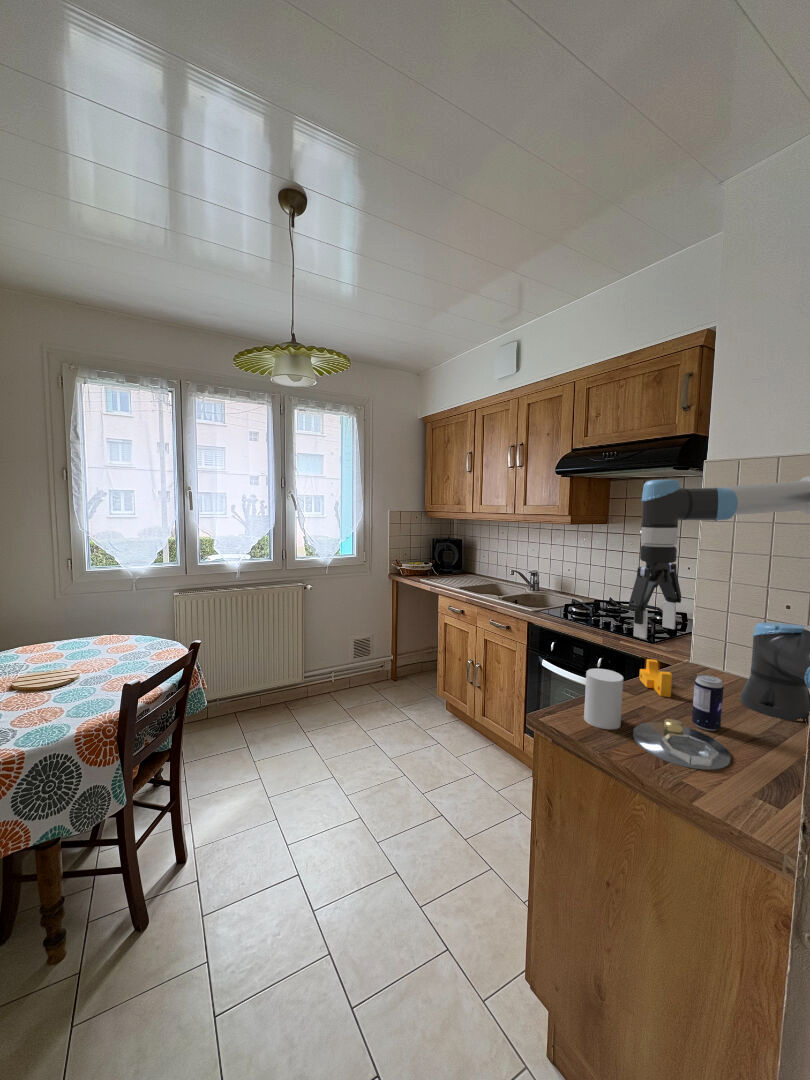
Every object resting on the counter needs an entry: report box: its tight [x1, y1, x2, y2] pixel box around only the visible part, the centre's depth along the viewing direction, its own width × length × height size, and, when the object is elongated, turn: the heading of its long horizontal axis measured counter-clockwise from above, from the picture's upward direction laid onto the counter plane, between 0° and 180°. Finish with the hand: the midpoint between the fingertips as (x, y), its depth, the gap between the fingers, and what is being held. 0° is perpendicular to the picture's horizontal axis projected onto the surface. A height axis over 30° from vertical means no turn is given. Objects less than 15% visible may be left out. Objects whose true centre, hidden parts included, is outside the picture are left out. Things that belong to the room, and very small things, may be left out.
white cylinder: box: [583, 668, 624, 730], centre depth 106 cm, size 8×8×12 cm
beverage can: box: [691, 674, 724, 732], centre depth 105 cm, size 6×6×12 cm
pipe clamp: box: [638, 658, 673, 698], centre depth 128 cm, size 12×4×6 cm, turn 169°
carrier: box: [632, 718, 732, 771], centre depth 96 cm, size 18×18×4 cm
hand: (654, 632), depth 106 cm, fingers open, 13 cm apart
